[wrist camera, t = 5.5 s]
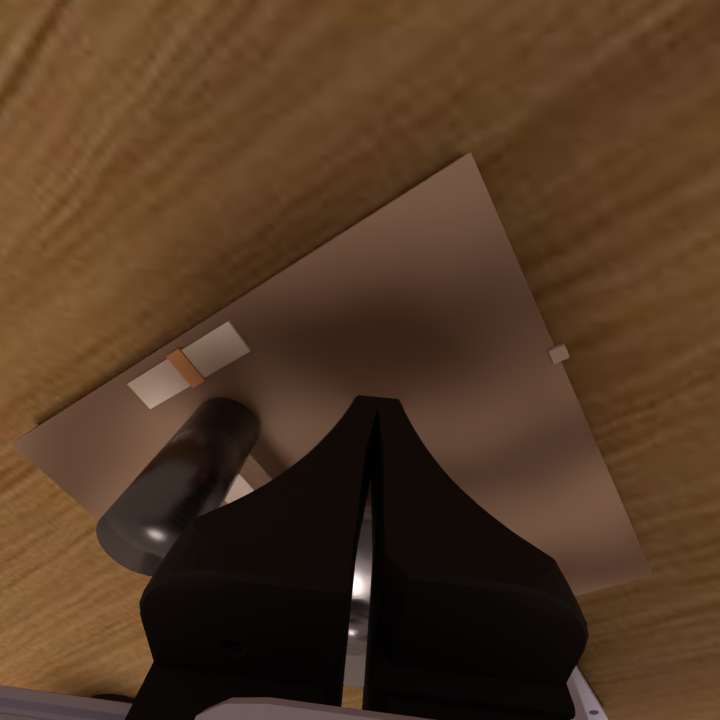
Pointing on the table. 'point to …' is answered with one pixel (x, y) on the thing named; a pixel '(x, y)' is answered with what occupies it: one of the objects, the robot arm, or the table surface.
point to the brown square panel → (381, 378)
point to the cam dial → (213, 504)
